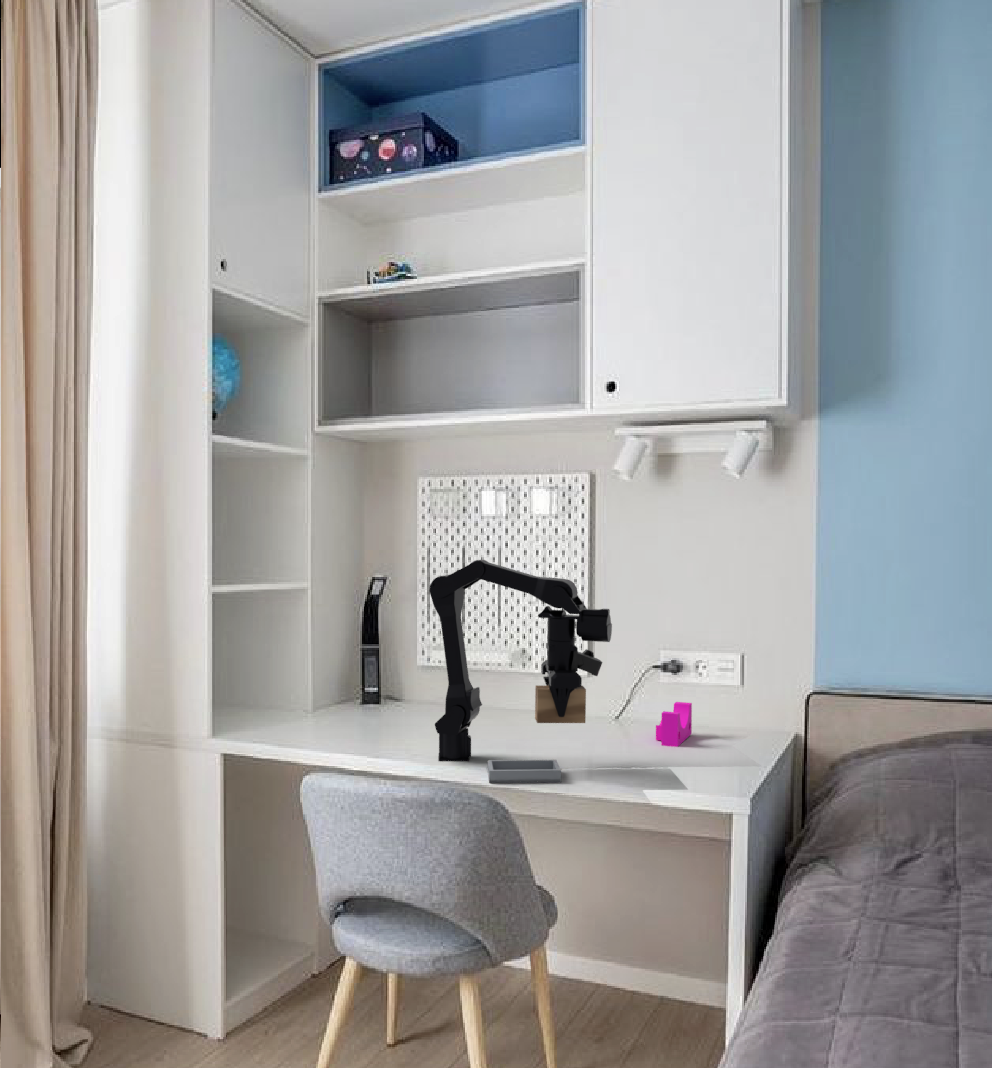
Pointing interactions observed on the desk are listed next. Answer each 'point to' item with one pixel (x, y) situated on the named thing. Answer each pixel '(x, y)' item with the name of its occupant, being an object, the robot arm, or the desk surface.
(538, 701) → the walnut block
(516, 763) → the slot tray
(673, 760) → the desk surface
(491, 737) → the desk surface
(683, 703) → the toy block
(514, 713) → the desk surface
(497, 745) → the desk surface
